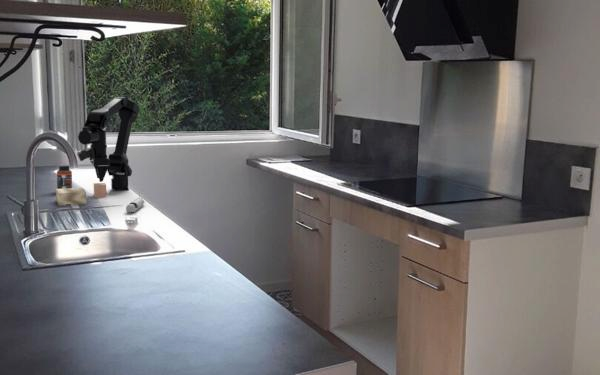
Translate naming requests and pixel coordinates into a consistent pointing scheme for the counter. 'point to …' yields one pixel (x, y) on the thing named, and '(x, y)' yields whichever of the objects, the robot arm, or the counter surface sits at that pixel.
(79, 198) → the beech block
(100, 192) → the terracotta cube
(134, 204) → the torpedo
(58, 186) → the supplement bottle
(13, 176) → the counter surface
